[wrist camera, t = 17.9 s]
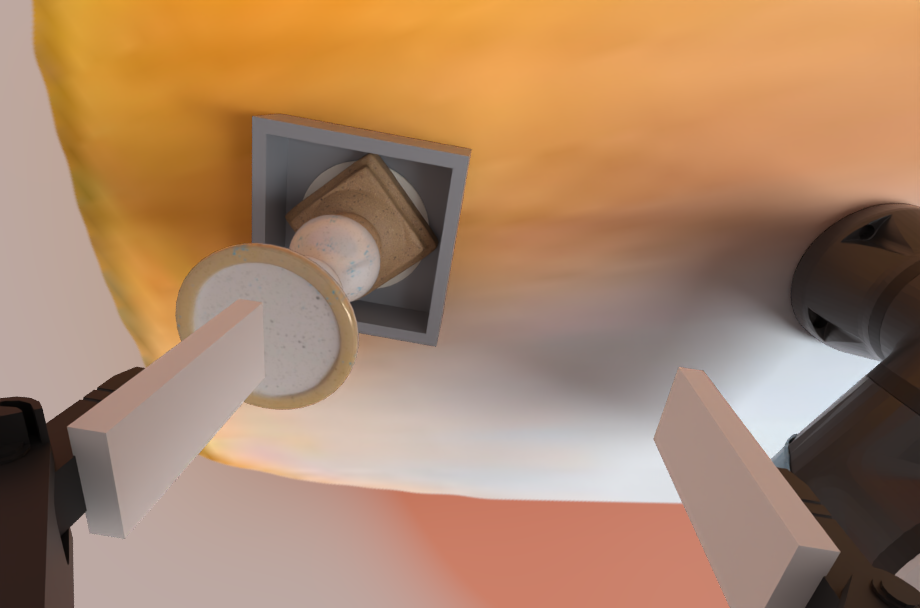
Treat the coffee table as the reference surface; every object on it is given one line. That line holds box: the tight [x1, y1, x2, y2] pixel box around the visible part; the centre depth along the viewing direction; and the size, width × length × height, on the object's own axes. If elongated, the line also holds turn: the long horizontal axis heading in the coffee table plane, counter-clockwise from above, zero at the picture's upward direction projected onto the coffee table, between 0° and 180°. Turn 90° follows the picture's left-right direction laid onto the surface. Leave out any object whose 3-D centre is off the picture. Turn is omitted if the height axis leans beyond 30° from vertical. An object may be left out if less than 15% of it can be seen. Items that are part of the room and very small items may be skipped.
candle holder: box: [176, 153, 439, 410], centre depth 38 cm, size 11×11×24 cm
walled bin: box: [252, 114, 472, 347], centre depth 47 cm, size 18×18×6 cm
